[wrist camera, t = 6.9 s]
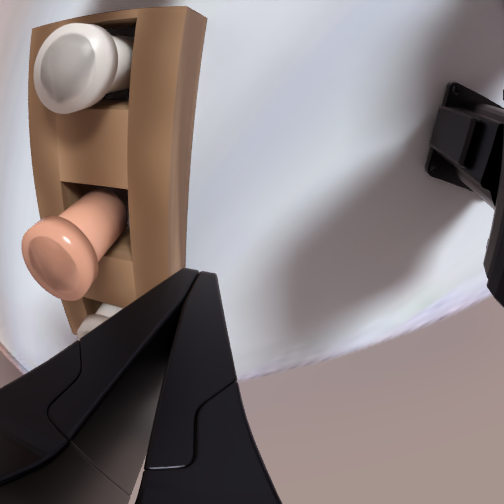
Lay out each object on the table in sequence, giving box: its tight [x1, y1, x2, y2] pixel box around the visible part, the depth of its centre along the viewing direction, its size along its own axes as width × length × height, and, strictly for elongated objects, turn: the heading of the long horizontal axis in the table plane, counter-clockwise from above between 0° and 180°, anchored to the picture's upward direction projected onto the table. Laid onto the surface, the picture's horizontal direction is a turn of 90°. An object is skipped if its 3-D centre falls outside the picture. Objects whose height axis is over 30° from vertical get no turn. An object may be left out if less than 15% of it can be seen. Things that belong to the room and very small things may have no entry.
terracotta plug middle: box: [22, 188, 128, 301], centre depth 16 cm, size 5×5×6 cm
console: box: [28, 6, 207, 335], centre depth 19 cm, size 10×25×4 cm, turn 171°
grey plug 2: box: [77, 303, 123, 341], centre depth 23 cm, size 5×5×6 cm
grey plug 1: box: [34, 23, 134, 114], centre depth 13 cm, size 5×5×6 cm
